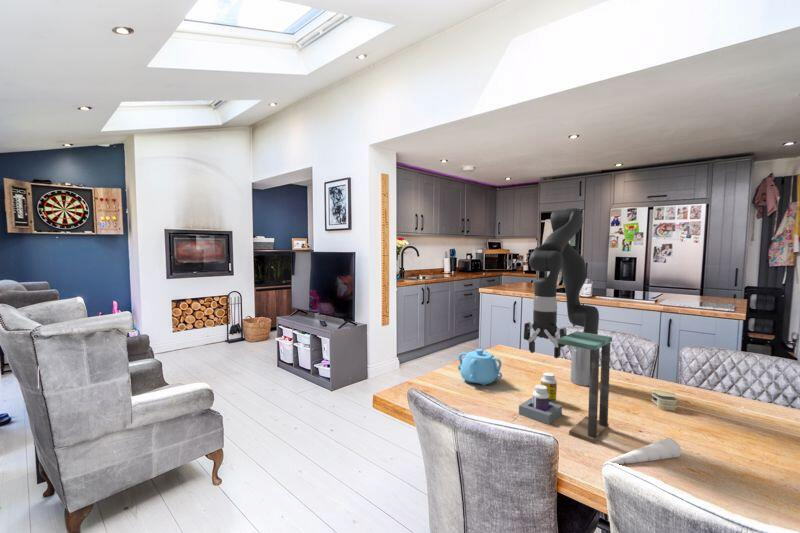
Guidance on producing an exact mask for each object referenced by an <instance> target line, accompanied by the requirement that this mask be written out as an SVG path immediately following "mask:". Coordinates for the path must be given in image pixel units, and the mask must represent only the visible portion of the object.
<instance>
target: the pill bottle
mask: <svg viewBox="0 0 800 533" xmlns="http://www.w3.org/2000/svg"><path fill="white" fill-rule="evenodd" d="M531 398H532V407H533V408H536V409H539V410H542V411H545V412H546V411H547V410H549V394H548V393H547V387H546V386H544V385H541V384H535V385H534V391H532V397H531Z"/></svg>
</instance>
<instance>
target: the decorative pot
mask: <svg viewBox="0 0 800 533" xmlns="http://www.w3.org/2000/svg"><path fill="white" fill-rule="evenodd" d="M462 356H464V358H463V359H462ZM458 361H459V364H458V366H457V370H458V371H459V374H460V376H461V378H462V379H463V380H465V381H466V382H467V383H474V384H480V385H481V386H487V385H490V384H492V383H493V382H495V381H496V379H497V380H498V379H499V380H501V379H502V378H503V373H502V372H500V371H501V368H502V361H501V359H500V358H498V357H495V356H494V354H493V353H490V352H488V351H486V350H484V349H482V348H477V349H475V350H471V351H470V352H461V353H459V355H458Z"/></svg>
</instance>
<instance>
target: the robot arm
mask: <svg viewBox="0 0 800 533" xmlns="http://www.w3.org/2000/svg"><path fill="white" fill-rule="evenodd" d="M583 218H584V217H583V214H582V211H581V210H580V209H579V208H576V207H573V208H566V209H565V208H564V209H557V210H553V211H551V214H550V224H551V229H552V230H551V231H552V233H550V234H549V235H548V236H547V237H546V239H545V240H544V242H543V244H541V245H539V246H537V248H535V249H534V250H533V251H532V252H531V254H530V255H529V259H528V264H529V267H530V268H531V269H532V270H533V271H535V272H549V274H548V276H546V277H540V278H536V279H535V281H534V297H533V308H532V309H533V310H532V312H533V314H532V315H533V316H532V318H533V323H531V322H530V321H529V322H526V323H524V327H523V339H524V340H525V341H528V350H529V352H530V353H531V354H533V353H535V352H536V339H537V338H541V339H542V338H543V339H546V340H549V341H550V342H551V343H552V344H553V345H554V350H553V351H554V352H553V353H554V355H553V356H554V357H553V358H554V359H558V358H559V357H561V354H562V352H561V351H562V348H564V347H565V346H567V345H564V344H558V339H559V338H561V337H564V336H566V335H568V334H567V333H568V332H567V328H566V327H558V326H557V320H558V319H557V318H558V317H557V315H558V314H557V313H558V299H557V286H558V285H557V284H558V279H559V276H560V272H561V276H562V281H563V285H564V290H565V299H566V311H567V317H568V321H569V322H570V324H572V325H573V326H578V327H583V331H582V332H585V333H591V334H597V335H599V334H598V333H599V332H598V331H599V321H600V313H599V309H598V308H597V307H596V306H594V305H593V306H592V305H588V304H581V302H580V292H581V290H582V288H583V286H584V284H585V282H586V280H587V277H588V274H587V273H588V272H587V267H586V262H585V260H584V257H582V255H581V254H580V253H579V252H578V251H577V249H575V248H574V247H573V246H572V245H571V243H570V240H572V239H573V237H575V235H576V234H578V233H579V231H580V230H581V228H582V226H583V222H584V219H583ZM532 329H533V331H534V332H533V333H532V334H531V330H532ZM556 333H558V335H559V337H558V335H557V334H556ZM570 361H571V362H570V364H571V366H570V381H571V383H573V384H575V385H579V386H584V387H589V378H590V349H585V348H579V347H574V346H571V360H570Z"/></svg>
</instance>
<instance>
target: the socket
mask: <svg viewBox="0 0 800 533" xmlns="http://www.w3.org/2000/svg"><path fill="white" fill-rule="evenodd" d="M562 413H563V405H560V404H557V403H555V402H554V403H551V402H549V410H547V411H546V412H545V411H542V410H539V409H536V408H533V407H532V397H531V398H529V399H527V400H526V401H524V402H523V403H521V404H519V405H518V415H520V416H523V417H526V418H529V419H532V420H535V421H538V422H540V423H543V424H546V425H550V424H551V423H552V422H554V421H555V420H557V419H558V418H559V417H561V416H562V415H563V414H562Z"/></svg>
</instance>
